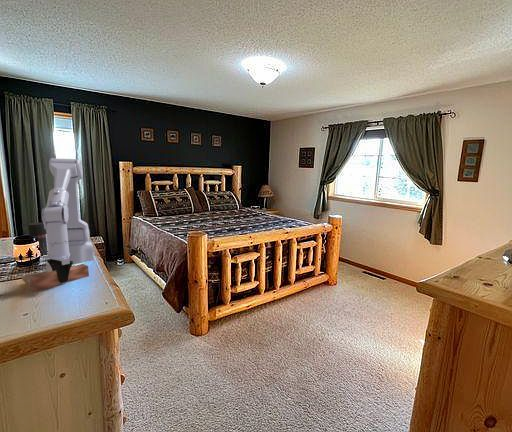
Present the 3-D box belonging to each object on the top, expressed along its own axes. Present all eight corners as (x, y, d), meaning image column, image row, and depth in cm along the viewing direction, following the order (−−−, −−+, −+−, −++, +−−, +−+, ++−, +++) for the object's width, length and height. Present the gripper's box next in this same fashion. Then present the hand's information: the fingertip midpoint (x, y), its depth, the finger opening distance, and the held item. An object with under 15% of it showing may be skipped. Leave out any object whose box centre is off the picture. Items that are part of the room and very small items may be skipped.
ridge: (55, 269, 107) (54, 259, 106) (62, 275, 101) (61, 265, 100) (43, 272, 104) (42, 262, 103) (49, 278, 98) (48, 267, 97)
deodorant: (50, 254, 130) (47, 223, 127) (37, 258, 124) (33, 225, 122) (42, 253, 131) (38, 222, 129) (28, 256, 126) (24, 224, 124)
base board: (74, 267, 112) (74, 265, 112) (83, 274, 105) (83, 271, 105) (20, 278, 100) (20, 276, 99) (27, 287, 93) (26, 284, 92)
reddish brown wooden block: (83, 276, 103) (82, 263, 102) (89, 279, 101) (88, 265, 100) (31, 291, 90) (29, 276, 89) (36, 294, 88) (34, 279, 87)
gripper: (38, 240, 95) (41, 277, 97) (49, 247, 85) (53, 289, 87) (62, 236, 100) (65, 272, 102) (75, 243, 91) (78, 283, 93)
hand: (61, 280), depth 95 cm, fingers closed on reddish brown wooden block, 4 cm apart
